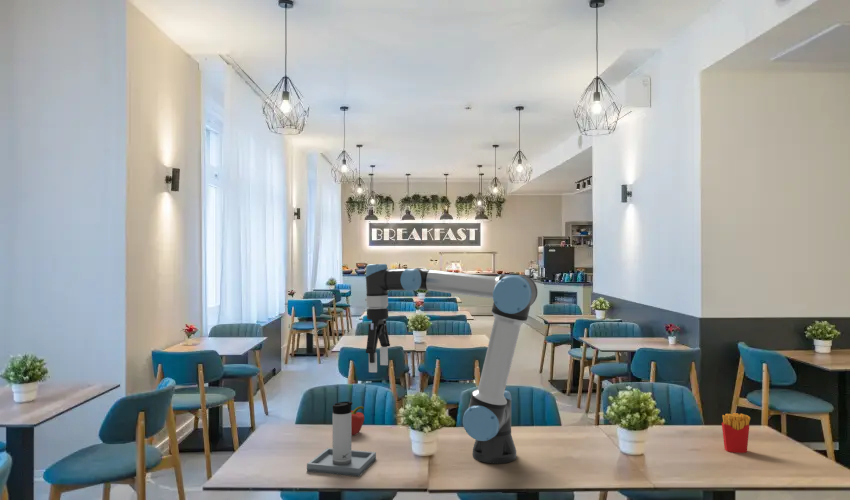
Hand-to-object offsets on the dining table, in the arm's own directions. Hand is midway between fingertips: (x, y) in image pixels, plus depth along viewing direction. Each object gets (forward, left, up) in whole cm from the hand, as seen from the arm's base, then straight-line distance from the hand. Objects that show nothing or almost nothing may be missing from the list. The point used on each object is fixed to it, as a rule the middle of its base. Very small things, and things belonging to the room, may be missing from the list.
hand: (378, 368), depth 201 cm
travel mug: (+9, +12, -30) cm, 33 cm away
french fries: (-122, -36, -31) cm, 131 cm away
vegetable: (+19, -22, -31) cm, 42 cm away
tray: (+9, +12, -30) cm, 34 cm away
